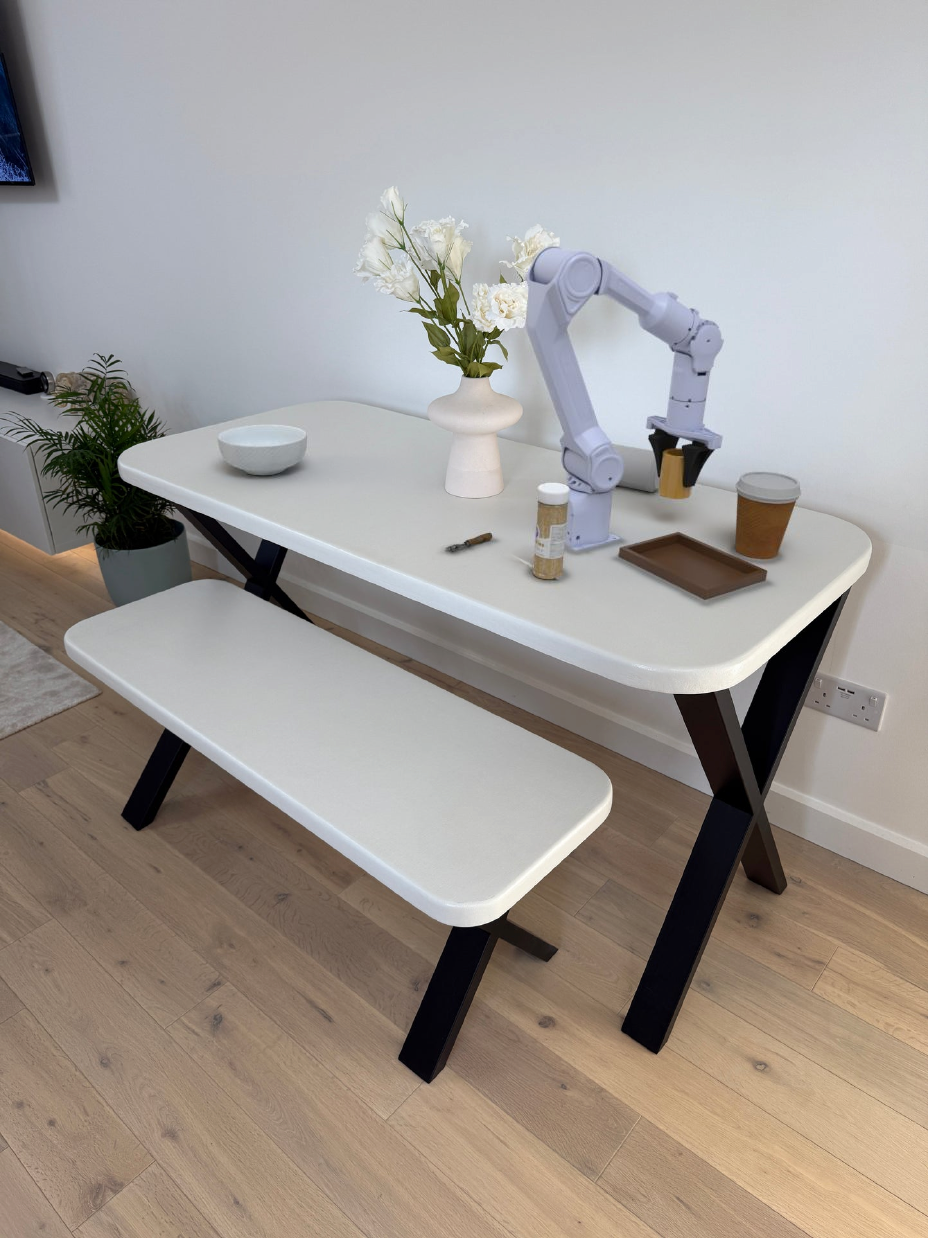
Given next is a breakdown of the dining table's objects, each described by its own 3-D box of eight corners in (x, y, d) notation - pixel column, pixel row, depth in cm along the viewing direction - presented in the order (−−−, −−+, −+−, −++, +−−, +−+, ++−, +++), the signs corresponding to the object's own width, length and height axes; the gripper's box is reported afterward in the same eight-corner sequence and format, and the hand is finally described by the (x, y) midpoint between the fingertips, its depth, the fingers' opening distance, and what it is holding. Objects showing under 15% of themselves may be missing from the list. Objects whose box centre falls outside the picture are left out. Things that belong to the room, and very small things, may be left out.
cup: (674, 501, 138) (680, 459, 134) (651, 492, 142) (656, 450, 138) (697, 495, 140) (703, 454, 137) (674, 486, 144) (679, 446, 141)
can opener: (488, 537, 137) (488, 531, 136) (497, 542, 135) (497, 535, 135) (441, 549, 132) (441, 543, 132) (450, 554, 131) (450, 547, 130)
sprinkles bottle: (527, 570, 126) (532, 483, 120) (554, 566, 128) (560, 479, 122) (541, 582, 122) (547, 493, 116) (569, 578, 124) (576, 489, 118)
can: (667, 444, 156) (606, 433, 162) (651, 471, 153) (590, 460, 158) (668, 474, 162) (610, 463, 167) (654, 501, 158) (594, 489, 164)
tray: (704, 603, 117) (706, 590, 116) (618, 559, 130) (619, 547, 129) (765, 583, 124) (767, 570, 123) (676, 543, 137) (678, 531, 136)
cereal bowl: (326, 470, 167) (324, 434, 164) (254, 489, 156) (250, 451, 153) (275, 451, 178) (272, 418, 174) (204, 468, 167) (200, 432, 163)
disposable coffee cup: (755, 570, 127) (770, 494, 122) (711, 548, 135) (723, 475, 129) (801, 559, 131) (817, 485, 126) (756, 538, 139) (769, 467, 133)
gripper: (741, 404, 130) (727, 489, 136) (672, 386, 141) (662, 465, 147) (708, 410, 127) (696, 497, 133) (640, 391, 137) (631, 472, 144)
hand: (676, 481), depth 140 cm, fingers closed on cup, 5 cm apart
